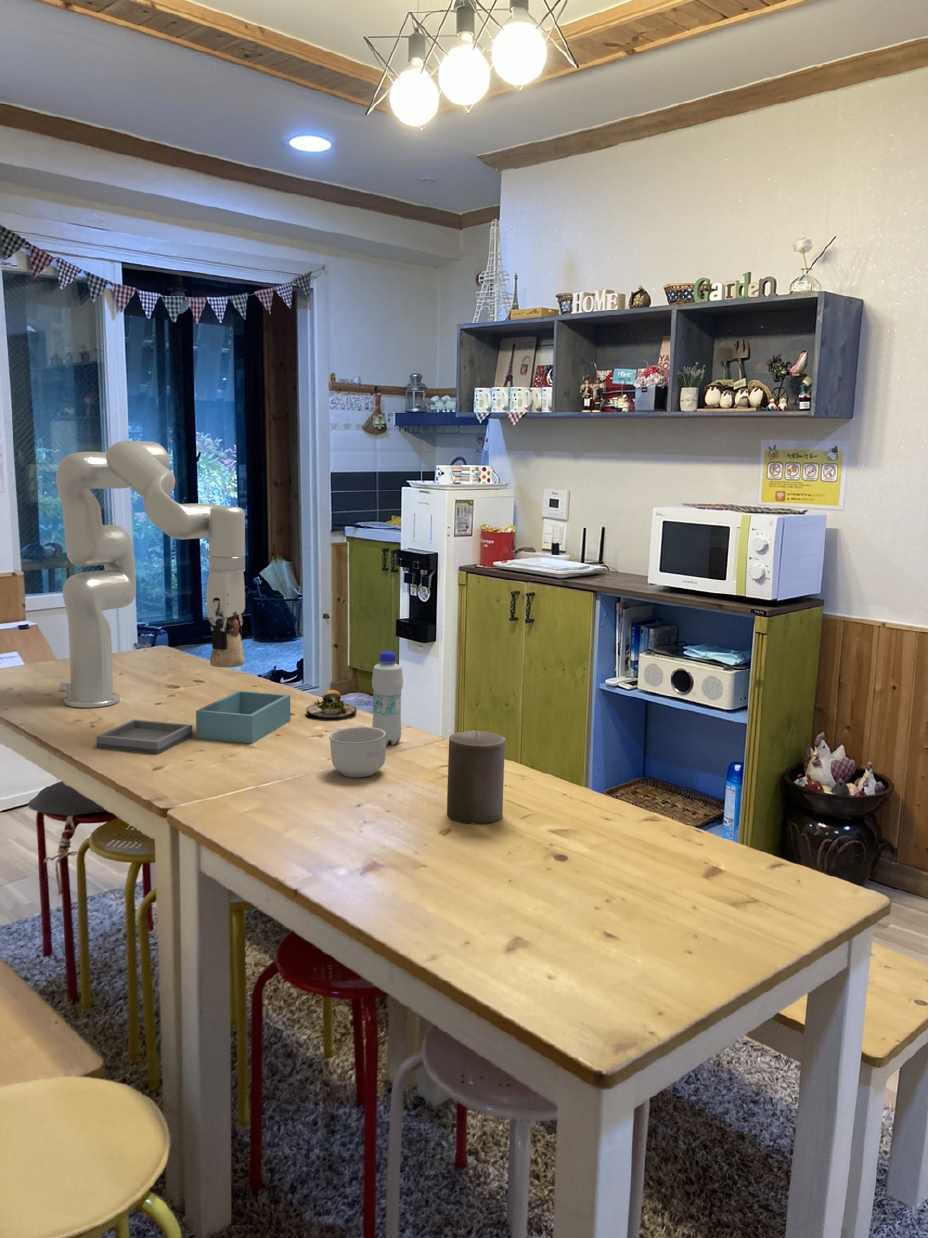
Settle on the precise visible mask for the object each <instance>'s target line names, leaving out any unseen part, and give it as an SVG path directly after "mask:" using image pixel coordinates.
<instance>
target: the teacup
mask: <svg viewBox="0 0 928 1238" xmlns="http://www.w3.org/2000/svg"><path fill="white" fill-rule="evenodd" d="M385 736H386V733H385V731H384V730H381V729H378V728H373V727H372V726H371V727H370V726H366V725H365V724H360V725H358V726H355V727H354V726H353V727H345V728H340V729H338V730H335V731H333V732H332V733H330V734H329V736H328V737H329V742H330V743H329V745H330V756H331V763H332V766H333V768H335V770H336V771H338V772H339V773H340V774H342V775H343V776H345V777H347V778H364V777H365V778H366V777H369V776H372V775H375V773H377V772H378V771H379V769H381V768H382V767H383V766H384V765H385V761H386V751H387V749H386V748H387V747H386V746H387V745H386V742H385Z"/></svg>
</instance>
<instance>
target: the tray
mask: <svg viewBox="0 0 928 1238" xmlns="http://www.w3.org/2000/svg"><path fill="white" fill-rule="evenodd" d="M192 737H193V724H187V723H185V724H184V723H175V722H163V721H155V720H154V721H153V720H143V719H135V718H134V719H132V720H129V721H127V722H125V723H123V724H120V725H119V726H116V727H114V728H111V729H110V730H107V731H105V732H102V733H100V734H98V735H96V737H95V739H96V742H95V743H96V745H95V746H96V747H95V748H97V749H105V750H114V751H123V752H133V753H141V754H150V755H151V754H152V755H160V754H161V753H164V752H165V751H167V750H169V749H171V748H173V747H175V746H177V745H178V744H180V743H182V742H185V741H186V740H188V739H190V738H192Z"/></svg>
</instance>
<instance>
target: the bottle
mask: <svg viewBox="0 0 928 1238" xmlns="http://www.w3.org/2000/svg"><path fill="white" fill-rule="evenodd" d="M396 659H397V657H396V653H395V652H393V651H390V650H386V651H381V653H380V654H379V663H377V664H375V665H374V666H373V670H372V677H371V678H372V679H371V683H372V685H371V687H372V689H373V693H372V695H373V696H372V697H373V699H372V708H373V709H372V710H373V711H372V713H373V714H372V725H371V727H373V728H378V729H381V730H384V731H385V733H386V736H385V742H386V746H387V745H388V743H389V741H390V744H391V745H392V746H393V745H395V744H398V743H399V742H400V740H401V738H402V719H401V718H402V716H401V715H402V714H401V713H402V712H401V711H402V689H403V687H404V685H403V683H404V679H403V678H404V677H403V670H402V666H401V665H399V664H397V662H396V661H397V660H396Z"/></svg>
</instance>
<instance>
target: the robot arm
mask: <svg viewBox="0 0 928 1238" xmlns="http://www.w3.org/2000/svg"><path fill="white" fill-rule="evenodd" d="M170 462H171V461H170V455H169V453H168V452H167V450H166V449H165V447H163V446H162V445H161V444H159V443H157V442H155V441H143V440H121V441H117V442H115V443H114V444H112V445H111V446H110V447H109V448H108V449H107V450H106V451H105V452H102V451H79V452H74V453H70V454H68V455H66V456H65V457H63V459H61V461H60V462H59V464H58V466H57V469H56V474H55V484H56V489H57V493H58V496H59V499H60V502H61V504H60V505H61V507H62V508H61V509H62V521H63V532H64V541H65V550H66V555H67V559H68V561H70V563H71V564H72V565H73V566H76V567H93V566H95V567H96V566H103V567H104V570H94V571H93V570H92V571H85V572H79V573H76V574H73V575H71V576H69V577H68V578H67V579H66V581H65V582H64V584H63V586H62V599H63V602H64V606H65V607H64V608H65V611H66V616H67V622H68V623H67V626H68V641H69V642H68V644H69V647H68V648H69V668H70V669H69V670H70V674H69V675H70V682H64V681H63V682H61V683H60V684H59V686H58V688H57V691H58V692H60V693H66V697H64V699H63V700H64V704H65V705H66V706H69V707H72V708H84V709H85V708H86V709H88V708H100V707H108V706H111V705H115V704H118V703H119V702H120V700H121V696H120V694H118V693H117V692H114V688H113V687H114V683H113V681H114V680H113V678H114V677H113V654H112V653H113V652H112V651H113V648H112V630H111V626H110V623H109V622H108V621H109V620H108V619H107V618H106V616H105V614H104V612H103V611H108V610H113V609H115V610H116V609H121V608H125V607H128V606H129V605H130V604H132V603H133V601H134V599H135V597H136V592H137V582H136V581H137V580H136V568H135V567H136V566H135V556H134V555H135V554H134V545H133V541H132V539H131V536H130V535H129V533H128V532H127V530H125V528H123V526H120V525H116V524H115V525H114V524H103V519H102V509H101V505H100V503H99V500H98V499H97V498H96V496H95V495H94V493H93V492H92V491H91V490H93V489H97V490H98V489H100V490H102V489H103V490H104V489H105V490H106V489H107V490H109V489H111V490H112V489H113V490H114V489H118V490H119V489H127V488H128V489H129V488H131V489H132V490H133V491H134V492H135V493H137V495H139V496H140V497H141V498H143V506H144V507H143V508H144V511H145V513H146V516H147V517H148V519H149V521H151V523H152V524H153V525H154V526H156V527H157V528H158V529H159V530H161V531H162V532H163V533H164V534H165V535H167V536H168V537H171V538H173V539H176V540H192V539H194V540H195V539H208V567H209V568H208V571H209V574H208V577H207V585H206V602H205V604H206V605H205V615H206V617H207V619H208V621H209V624H210V631H211V648H213V649H220V650H225V649H227V631H225V628H226V623H227V618H230V617H232V616H234V613H235V612H237V616H236V620H237V621H238V623H239V634H240V636H241V640H242V641H243V622H244V620H243V617H244V613H245V609H246V591H245V590H246V587H245V575H244V572H245V571H246V514H245V511H244V509H243V508H242V507H239V506H230V505H229V506H227V505H219V504H215V503H197V502H196V503H179V502H177V501H175V500H174V499H173V498H172V497H171V494H172V493H173V491H174V489H175V485H176V477H175V474H174V473H173V472H172V471H171V470H170V469H169V468H170V464H171V463H170ZM220 614H221V615H223V616H219V615H220ZM219 620H222V624H221V623H220V621H219Z"/></svg>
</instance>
